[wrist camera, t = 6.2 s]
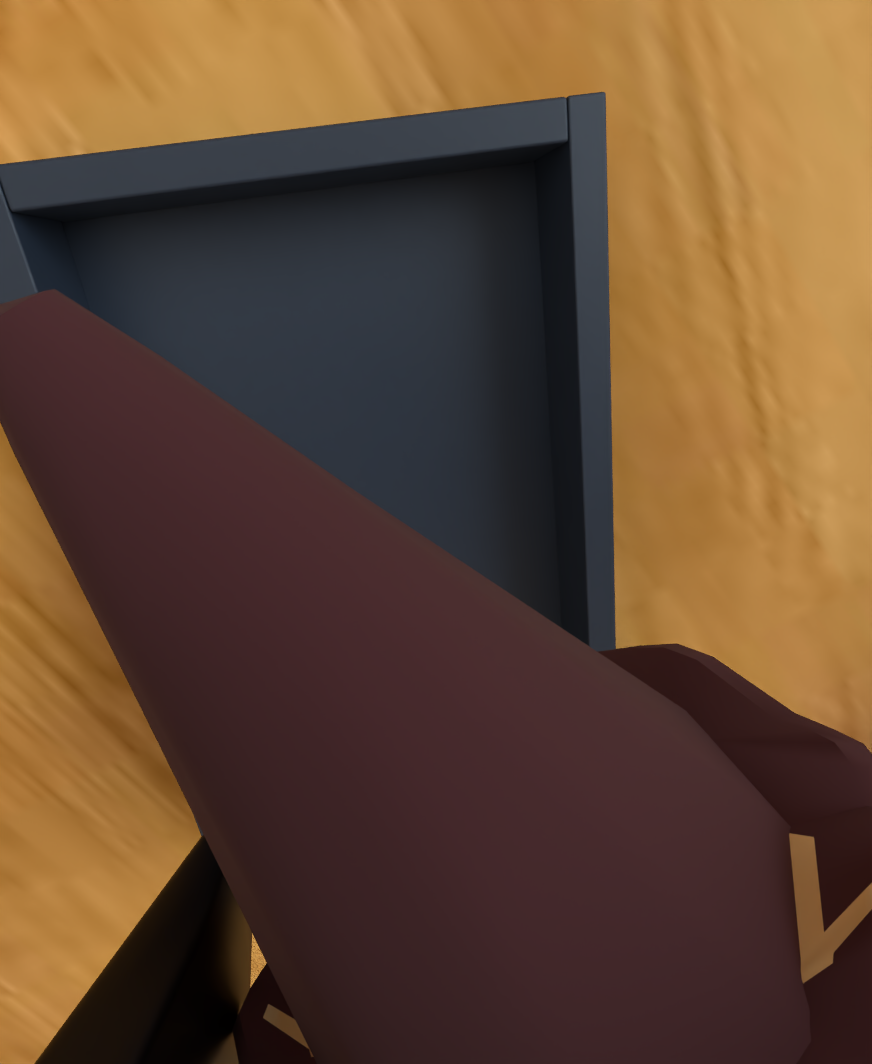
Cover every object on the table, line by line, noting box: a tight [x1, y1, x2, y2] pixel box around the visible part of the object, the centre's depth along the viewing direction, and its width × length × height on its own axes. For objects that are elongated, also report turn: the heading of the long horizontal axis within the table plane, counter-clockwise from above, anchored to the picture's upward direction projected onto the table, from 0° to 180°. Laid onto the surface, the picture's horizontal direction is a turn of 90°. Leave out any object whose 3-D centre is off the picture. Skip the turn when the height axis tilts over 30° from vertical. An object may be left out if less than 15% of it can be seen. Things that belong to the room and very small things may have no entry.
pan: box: [0, 92, 616, 836], centre depth 17 cm, size 13×20×3 cm, turn 7°
